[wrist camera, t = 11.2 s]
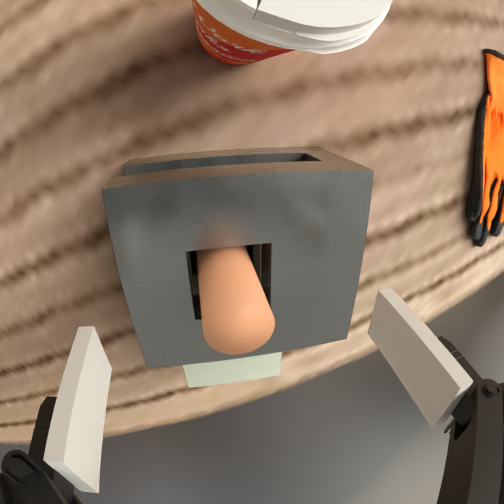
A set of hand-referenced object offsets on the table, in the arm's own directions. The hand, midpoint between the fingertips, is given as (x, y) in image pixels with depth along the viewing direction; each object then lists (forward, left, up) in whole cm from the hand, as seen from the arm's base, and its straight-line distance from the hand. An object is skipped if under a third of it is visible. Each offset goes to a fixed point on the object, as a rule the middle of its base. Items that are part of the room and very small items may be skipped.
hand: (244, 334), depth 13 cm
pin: (0, 0, -12) cm, 12 cm away
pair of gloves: (+40, +7, -13) cm, 43 cm away
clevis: (0, 0, -12) cm, 12 cm away
